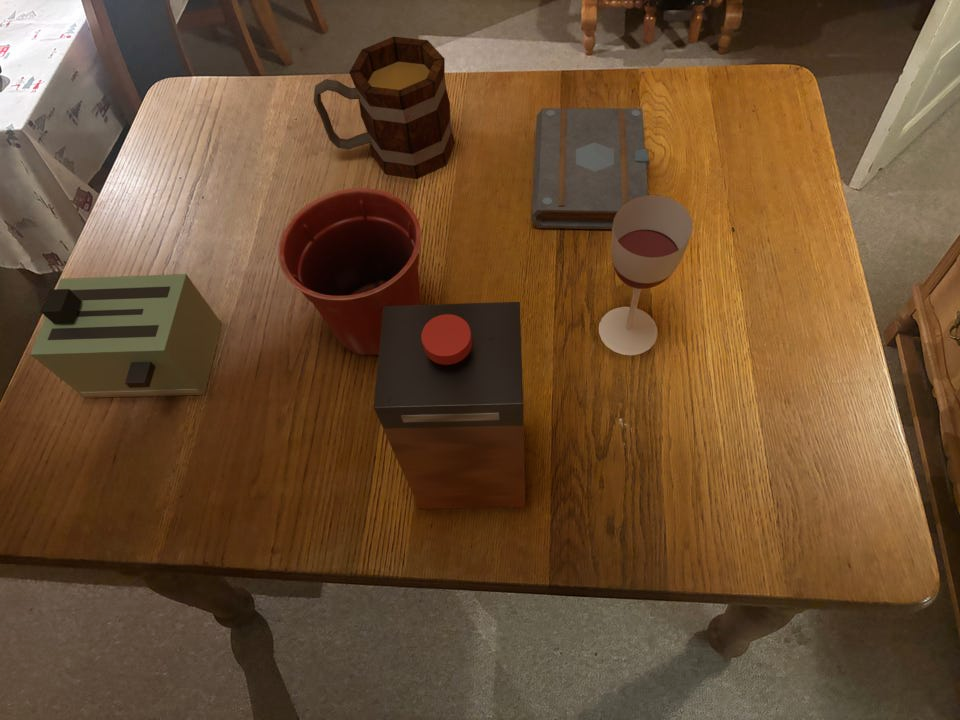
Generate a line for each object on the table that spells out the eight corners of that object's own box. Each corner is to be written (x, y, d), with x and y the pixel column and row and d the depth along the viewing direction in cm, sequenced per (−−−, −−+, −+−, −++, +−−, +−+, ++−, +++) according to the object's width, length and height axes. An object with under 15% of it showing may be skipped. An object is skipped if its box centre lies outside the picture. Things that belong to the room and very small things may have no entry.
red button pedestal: (419, 510, 75) (373, 409, 53) (423, 429, 80) (383, 305, 58) (524, 508, 74) (523, 405, 52) (522, 426, 80) (519, 301, 57)
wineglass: (584, 340, 85) (597, 237, 68) (617, 294, 89) (638, 184, 71) (639, 369, 83) (668, 269, 65) (671, 320, 86) (706, 213, 69)
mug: (450, 114, 109) (440, 29, 96) (460, 172, 102) (450, 89, 89) (332, 131, 109) (306, 48, 96) (334, 190, 102) (305, 110, 89)
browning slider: (54, 324, 78) (40, 311, 76) (62, 302, 79) (49, 289, 77) (73, 323, 78) (60, 311, 75) (82, 301, 79) (69, 288, 77)
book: (536, 129, 106) (536, 103, 101) (641, 130, 104) (646, 103, 100) (531, 229, 95) (531, 205, 91) (647, 231, 94) (653, 207, 89)
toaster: (77, 417, 84) (20, 375, 75) (109, 327, 91) (60, 278, 82) (200, 414, 83) (157, 371, 74) (222, 323, 90) (186, 273, 81)
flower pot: (306, 371, 85) (264, 299, 72) (327, 270, 94) (292, 188, 80) (432, 372, 84) (413, 299, 70) (442, 270, 92) (427, 186, 79)
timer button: (422, 365, 53) (420, 356, 52) (424, 324, 55) (422, 314, 54) (472, 364, 53) (470, 355, 52) (472, 322, 55) (471, 313, 54)
